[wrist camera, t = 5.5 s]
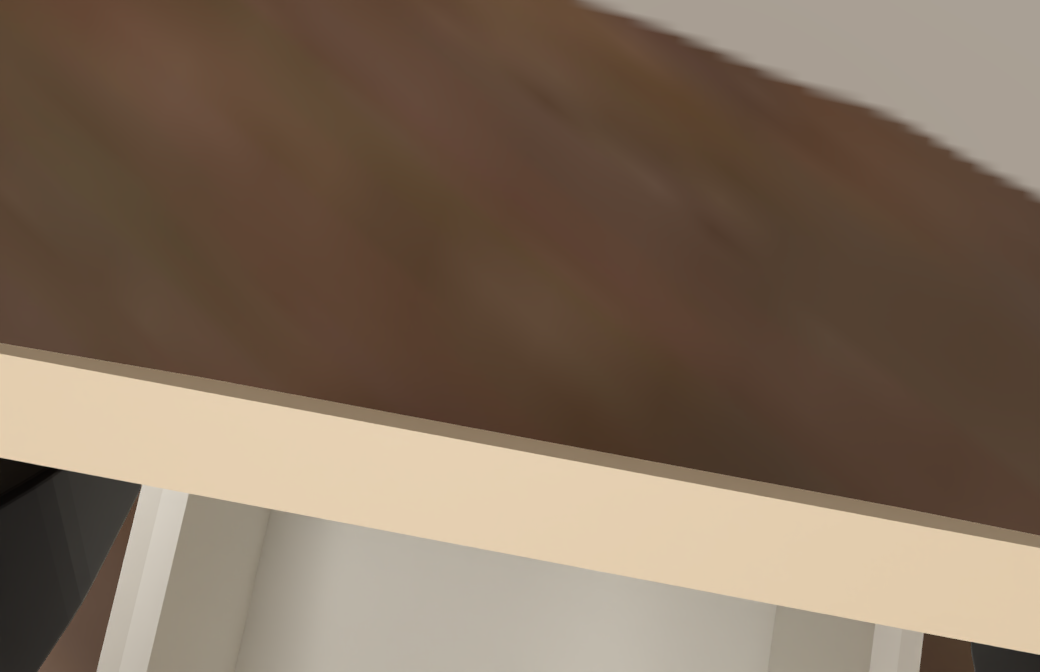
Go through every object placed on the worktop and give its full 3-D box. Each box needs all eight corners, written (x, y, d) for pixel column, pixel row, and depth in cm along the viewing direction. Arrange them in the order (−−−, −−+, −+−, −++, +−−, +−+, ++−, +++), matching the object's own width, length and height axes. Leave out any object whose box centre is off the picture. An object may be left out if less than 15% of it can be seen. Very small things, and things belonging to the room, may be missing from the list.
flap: (1969, 831, 4) (1974, 722, 5) (-674, 330, 5) (-646, 233, 5) (897, 535, 17) (900, 507, 17) (201, 405, 18) (206, 377, 18)
